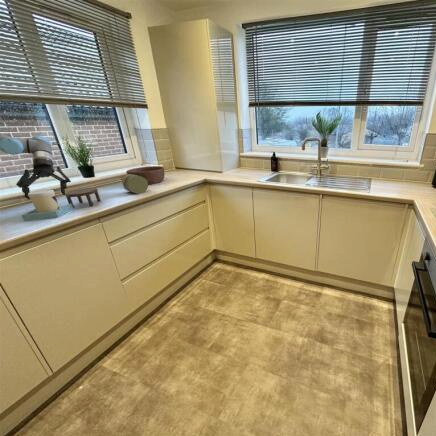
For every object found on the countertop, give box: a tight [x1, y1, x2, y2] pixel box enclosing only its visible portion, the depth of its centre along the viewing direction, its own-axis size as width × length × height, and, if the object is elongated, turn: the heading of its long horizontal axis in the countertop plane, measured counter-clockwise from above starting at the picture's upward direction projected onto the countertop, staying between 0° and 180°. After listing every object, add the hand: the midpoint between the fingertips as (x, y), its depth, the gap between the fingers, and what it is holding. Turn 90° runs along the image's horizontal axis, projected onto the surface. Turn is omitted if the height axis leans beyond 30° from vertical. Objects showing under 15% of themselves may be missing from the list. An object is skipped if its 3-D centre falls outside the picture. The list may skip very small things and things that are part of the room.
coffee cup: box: [28, 188, 60, 213], centre depth 119 cm, size 9×9×12 cm
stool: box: [64, 187, 102, 209], centre depth 134 cm, size 14×14×8 cm
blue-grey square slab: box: [21, 203, 74, 222], centre depth 121 cm, size 14×13×3 cm
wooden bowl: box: [125, 165, 165, 186], centre depth 182 cm, size 25×25×10 cm
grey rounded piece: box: [120, 173, 149, 195], centre depth 156 cm, size 11×12×11 cm
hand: (45, 195), depth 121 cm, fingers open, 13 cm apart
